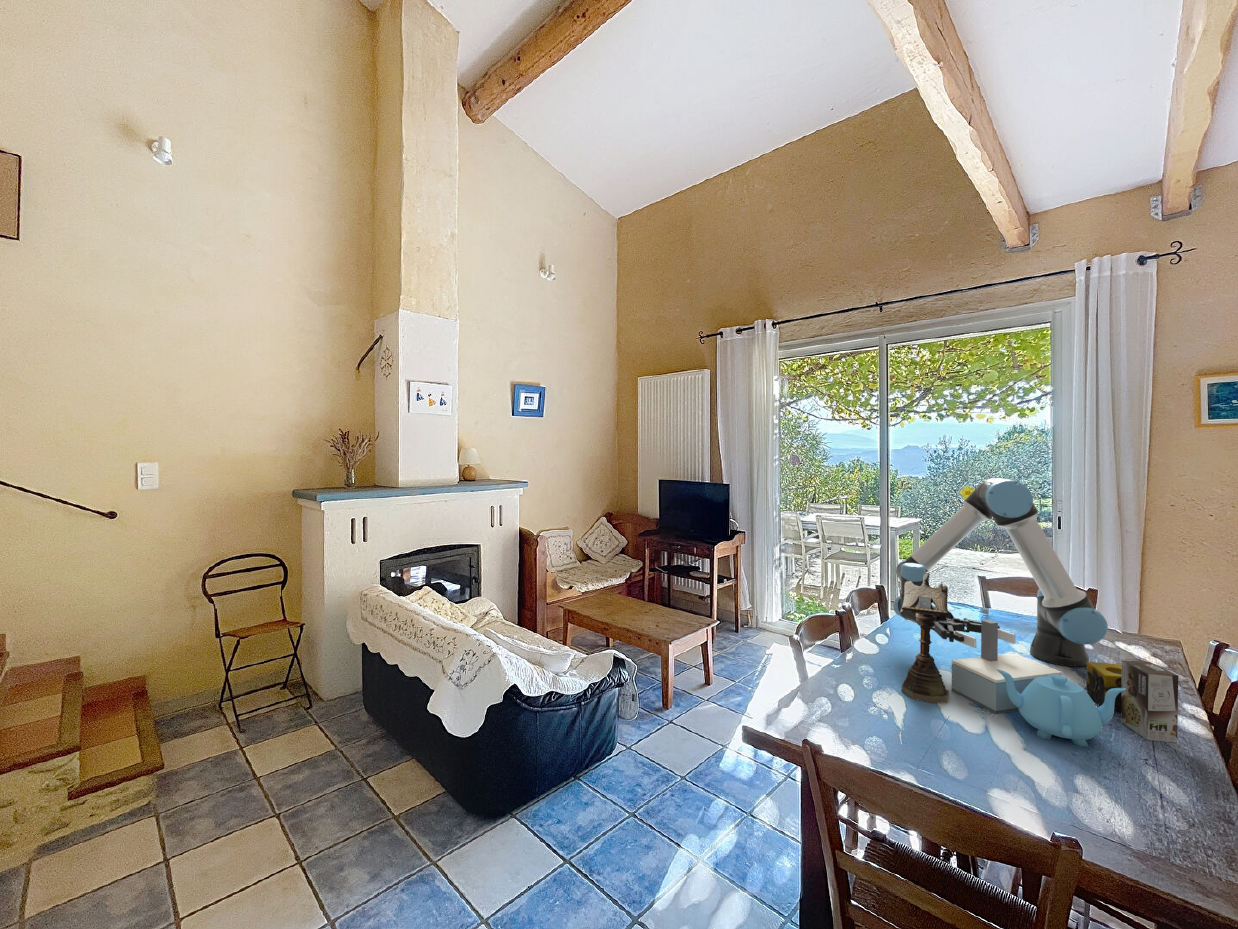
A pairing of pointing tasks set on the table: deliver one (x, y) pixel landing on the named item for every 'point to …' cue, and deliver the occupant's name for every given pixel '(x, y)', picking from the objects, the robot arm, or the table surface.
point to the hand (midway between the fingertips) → (995, 641)
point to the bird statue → (925, 641)
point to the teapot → (1061, 707)
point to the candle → (1104, 682)
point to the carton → (985, 690)
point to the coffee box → (1150, 700)
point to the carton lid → (1001, 660)
